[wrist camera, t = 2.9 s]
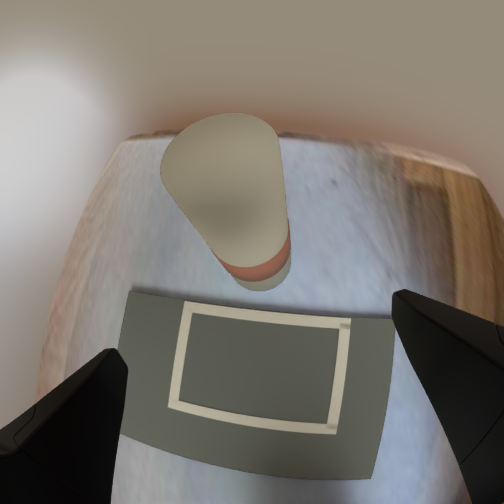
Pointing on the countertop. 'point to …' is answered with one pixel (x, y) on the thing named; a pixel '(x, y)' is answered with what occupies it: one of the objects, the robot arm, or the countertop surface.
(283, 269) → the player figure
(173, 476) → the countertop surface
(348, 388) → the mat
